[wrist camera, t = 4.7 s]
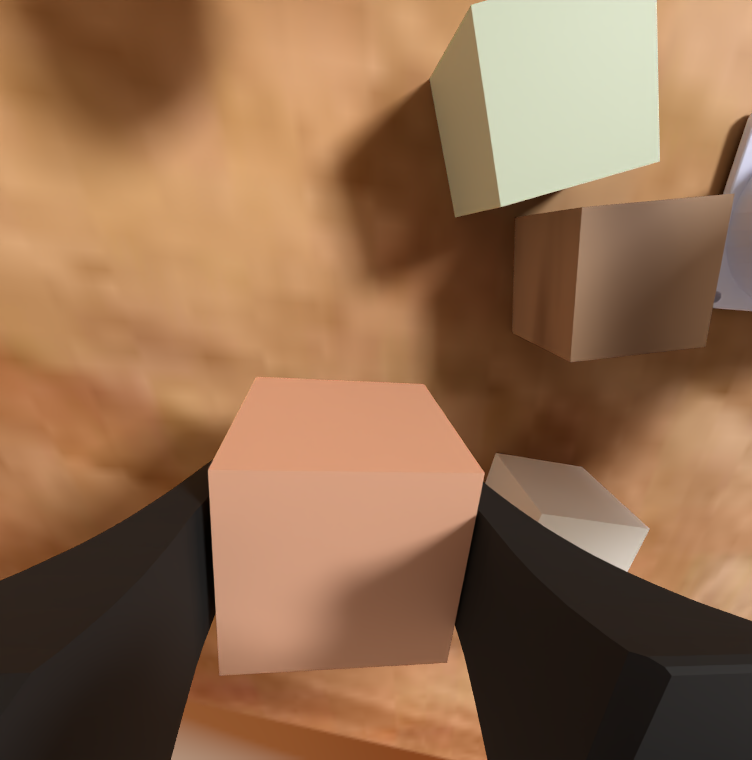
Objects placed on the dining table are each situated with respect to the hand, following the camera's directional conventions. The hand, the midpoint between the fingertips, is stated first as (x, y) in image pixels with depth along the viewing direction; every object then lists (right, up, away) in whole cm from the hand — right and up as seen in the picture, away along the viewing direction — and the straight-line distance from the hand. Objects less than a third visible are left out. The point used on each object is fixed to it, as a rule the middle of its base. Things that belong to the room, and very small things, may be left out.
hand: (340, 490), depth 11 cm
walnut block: (+10, +8, +7) cm, 14 cm away
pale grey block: (+9, -4, +11) cm, 15 cm away
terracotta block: (0, +1, +2) cm, 2 cm away
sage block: (+6, +13, +5) cm, 15 cm away
